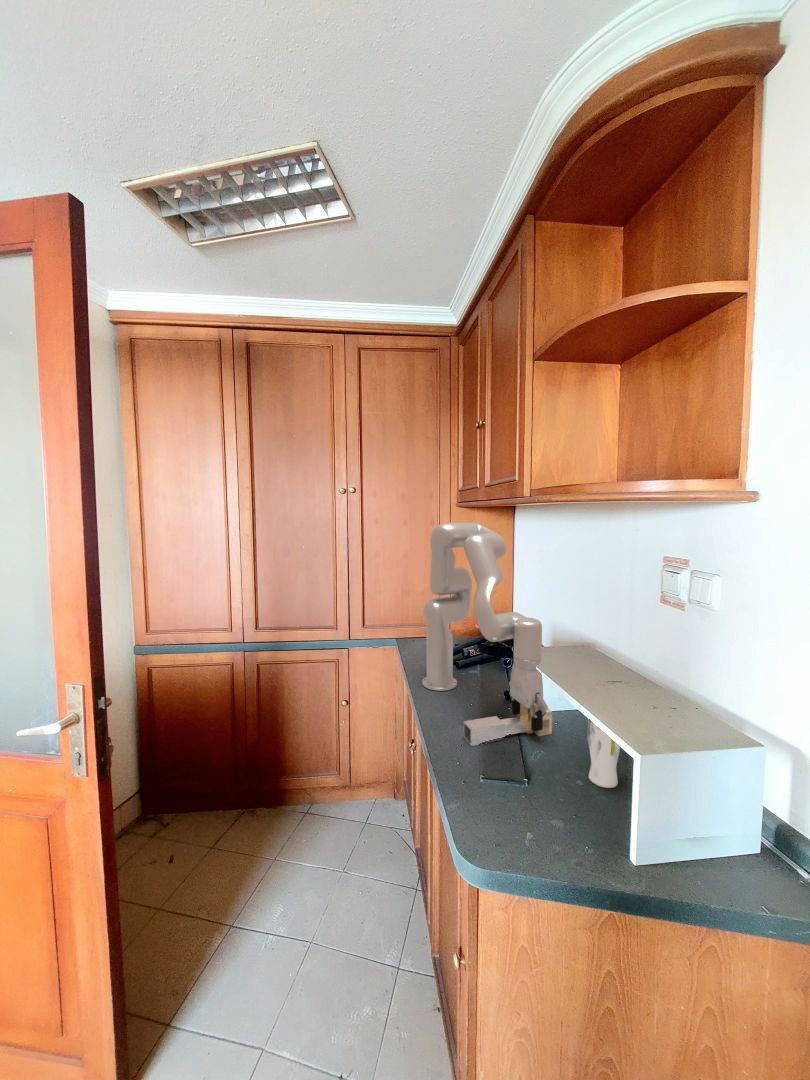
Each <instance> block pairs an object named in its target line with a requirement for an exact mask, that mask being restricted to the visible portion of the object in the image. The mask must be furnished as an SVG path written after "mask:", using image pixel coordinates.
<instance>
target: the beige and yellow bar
mask: <svg viewBox="0 0 810 1080" xmlns="http://www.w3.org/2000/svg"><path fill="white" fill-rule="evenodd" d="M531 716H533V714H532V711H531V708H526V707H524V706H523V705H522V704H521V703H520V714H519V716H515V717H514V716H513V717H509V718H503V719H500V720H501V721H502V722H503V723H504V724H505V736H510V735H509V734H511V735H516V734H521V733H526V734H527V735H529V734H533V733H534V732H533V731H532V730H531Z"/></svg>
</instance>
